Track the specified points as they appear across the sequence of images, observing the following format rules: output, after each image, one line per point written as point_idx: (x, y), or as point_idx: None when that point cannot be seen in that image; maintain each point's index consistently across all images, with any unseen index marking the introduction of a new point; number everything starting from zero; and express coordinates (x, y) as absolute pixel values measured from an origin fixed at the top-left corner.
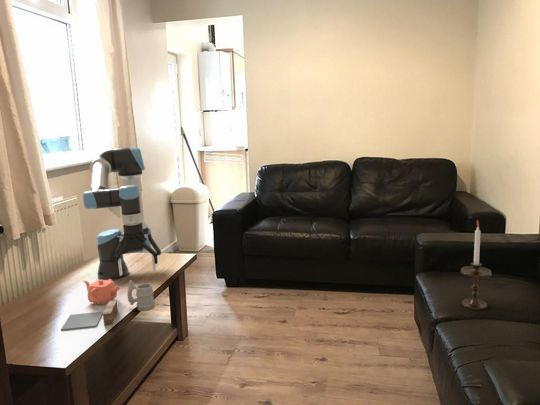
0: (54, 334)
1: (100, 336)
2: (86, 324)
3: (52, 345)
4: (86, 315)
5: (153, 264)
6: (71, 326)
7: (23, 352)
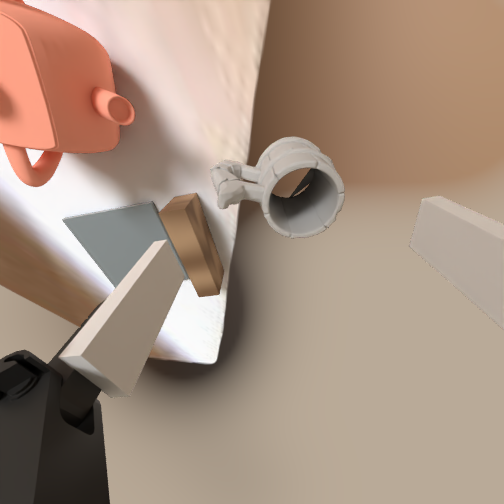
0: None
1: (222, 308)
2: None
3: None
4: (118, 228)
5: (471, 292)
6: None
7: None
